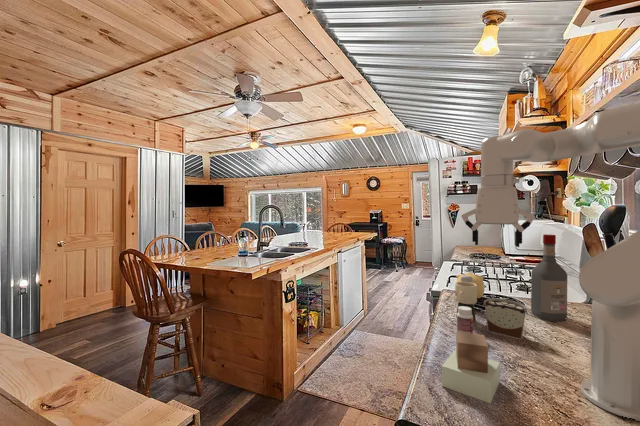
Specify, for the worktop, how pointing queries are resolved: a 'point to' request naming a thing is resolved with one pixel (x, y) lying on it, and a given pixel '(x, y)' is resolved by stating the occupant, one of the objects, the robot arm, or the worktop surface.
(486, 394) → the sage block
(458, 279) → the sculpture
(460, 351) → the walnut block
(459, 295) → the character mug
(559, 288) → the liquor
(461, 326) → the pill bottle
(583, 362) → the worktop surface
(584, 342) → the worktop surface
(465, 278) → the salt shaker
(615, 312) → the robot arm
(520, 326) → the food container
